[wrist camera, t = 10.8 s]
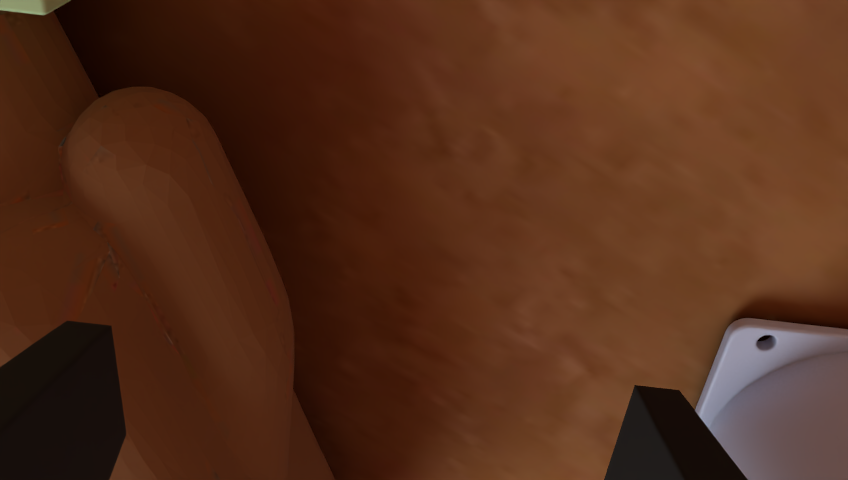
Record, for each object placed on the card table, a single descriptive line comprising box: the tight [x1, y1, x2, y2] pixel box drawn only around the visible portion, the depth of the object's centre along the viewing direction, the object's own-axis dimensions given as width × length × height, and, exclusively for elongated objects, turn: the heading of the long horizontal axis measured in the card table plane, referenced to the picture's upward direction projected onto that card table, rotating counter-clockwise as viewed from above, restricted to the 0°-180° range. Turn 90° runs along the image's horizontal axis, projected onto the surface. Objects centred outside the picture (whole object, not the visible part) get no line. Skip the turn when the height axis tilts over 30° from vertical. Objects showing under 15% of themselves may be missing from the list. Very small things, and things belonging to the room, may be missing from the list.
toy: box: [0, 10, 335, 480], centre depth 20 cm, size 15×8×20 cm
